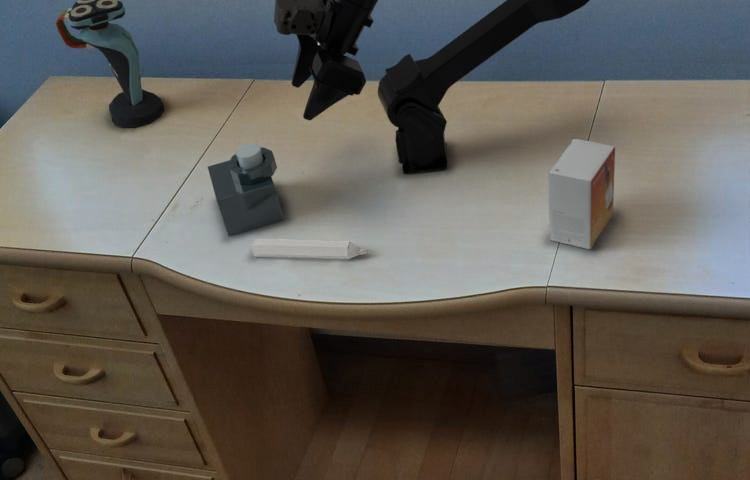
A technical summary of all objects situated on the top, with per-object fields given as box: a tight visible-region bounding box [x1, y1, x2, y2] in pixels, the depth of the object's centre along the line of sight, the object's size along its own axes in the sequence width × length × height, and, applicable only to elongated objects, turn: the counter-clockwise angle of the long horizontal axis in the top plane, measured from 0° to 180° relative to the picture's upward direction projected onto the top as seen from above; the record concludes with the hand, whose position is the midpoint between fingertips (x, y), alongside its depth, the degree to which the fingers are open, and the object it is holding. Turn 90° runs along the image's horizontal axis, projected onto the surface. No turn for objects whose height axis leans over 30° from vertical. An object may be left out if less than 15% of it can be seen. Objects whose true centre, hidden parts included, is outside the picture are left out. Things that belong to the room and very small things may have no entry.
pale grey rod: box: [251, 238, 371, 260], centre depth 122 cm, size 3×2×16 cm
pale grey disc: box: [235, 142, 264, 169], centre depth 126 cm, size 3×3×2 cm
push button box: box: [207, 146, 285, 237], centre depth 129 cm, size 9×9×8 cm
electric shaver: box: [55, 0, 166, 129], centre depth 150 cm, size 9×12×20 cm
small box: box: [547, 138, 616, 250], centre depth 115 cm, size 8×6×10 cm
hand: (300, 102), depth 124 cm, fingers open, 9 cm apart
